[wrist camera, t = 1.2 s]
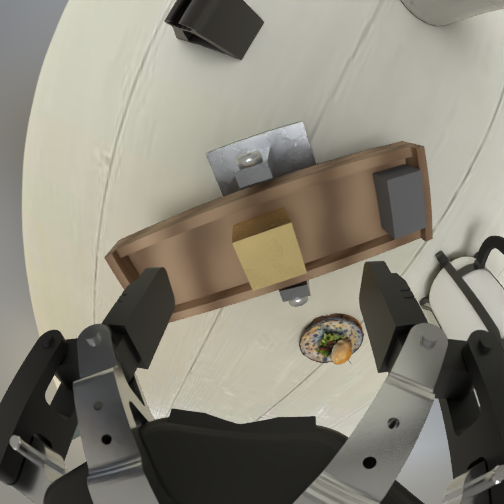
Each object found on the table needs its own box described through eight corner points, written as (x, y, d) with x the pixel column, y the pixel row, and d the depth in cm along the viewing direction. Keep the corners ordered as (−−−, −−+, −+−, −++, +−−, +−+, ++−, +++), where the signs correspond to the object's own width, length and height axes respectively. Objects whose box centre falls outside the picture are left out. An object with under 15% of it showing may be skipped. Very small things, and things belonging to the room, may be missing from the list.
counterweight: (404, 164, 23) (421, 170, 21) (411, 216, 26) (426, 227, 23) (372, 173, 24) (386, 180, 21) (381, 227, 26) (394, 239, 24)
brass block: (283, 207, 25) (291, 222, 21) (298, 252, 27) (306, 273, 24) (232, 224, 26) (231, 243, 22) (251, 268, 28) (253, 291, 24)
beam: (402, 141, 24) (423, 146, 20) (413, 224, 28) (432, 238, 24) (119, 240, 27) (104, 257, 24) (161, 309, 32) (153, 331, 28)
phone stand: (264, 22, 23) (256, -17, 13) (241, 60, 26) (221, 36, 16) (199, 1, 22) (164, -36, 12) (177, 38, 25) (132, 13, 14)
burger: (302, 311, 44) (305, 345, 38) (369, 312, 43) (379, 343, 37) (295, 356, 50) (296, 387, 44) (353, 355, 49) (359, 386, 43)
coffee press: (489, 277, 37) (563, 394, 11) (429, 323, 43) (480, 458, 17) (472, 209, 32) (596, 340, 6) (399, 265, 38) (480, 445, 12)
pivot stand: (301, 121, 29) (312, 126, 20) (336, 248, 37) (353, 297, 28) (208, 151, 32) (179, 172, 23) (256, 268, 40) (249, 321, 31)
